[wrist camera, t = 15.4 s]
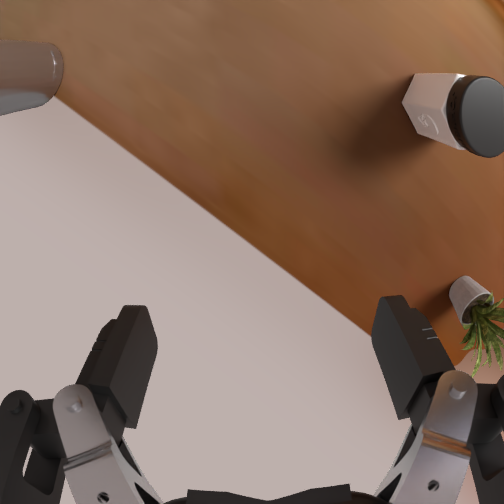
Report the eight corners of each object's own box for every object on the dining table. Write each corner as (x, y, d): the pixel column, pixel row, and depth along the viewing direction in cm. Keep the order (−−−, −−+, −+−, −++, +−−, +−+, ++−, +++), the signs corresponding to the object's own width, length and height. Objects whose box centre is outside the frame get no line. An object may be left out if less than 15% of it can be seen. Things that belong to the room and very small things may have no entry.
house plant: (456, 331, 49) (492, 394, 35) (410, 317, 47) (448, 392, 33) (499, 273, 43) (548, 330, 29) (458, 248, 41) (517, 313, 26)
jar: (390, 87, 30) (444, 91, 20) (436, 61, 28) (496, 60, 17) (422, 149, 34) (478, 176, 23) (464, 121, 31) (524, 141, 21)
